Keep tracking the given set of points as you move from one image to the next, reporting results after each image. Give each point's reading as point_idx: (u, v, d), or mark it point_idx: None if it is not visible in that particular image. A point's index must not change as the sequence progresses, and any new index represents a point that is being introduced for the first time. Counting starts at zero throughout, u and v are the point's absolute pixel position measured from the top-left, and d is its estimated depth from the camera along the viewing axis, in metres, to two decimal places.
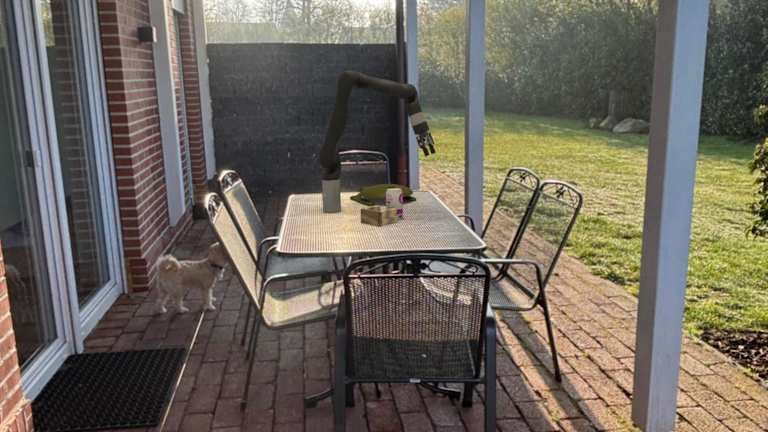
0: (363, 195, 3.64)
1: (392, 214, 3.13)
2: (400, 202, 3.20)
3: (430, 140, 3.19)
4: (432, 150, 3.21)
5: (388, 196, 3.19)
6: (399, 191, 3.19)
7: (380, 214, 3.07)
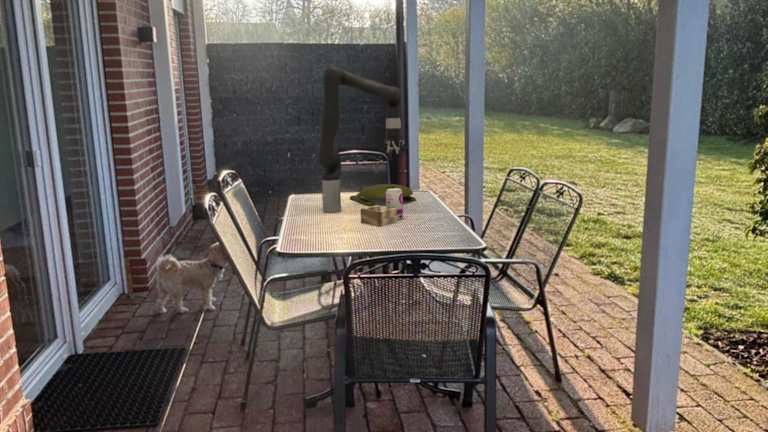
0: (363, 195, 3.64)
1: (392, 214, 3.13)
2: (400, 202, 3.20)
3: None
4: (390, 156, 3.34)
5: (388, 196, 3.19)
6: (399, 191, 3.19)
7: (380, 214, 3.07)
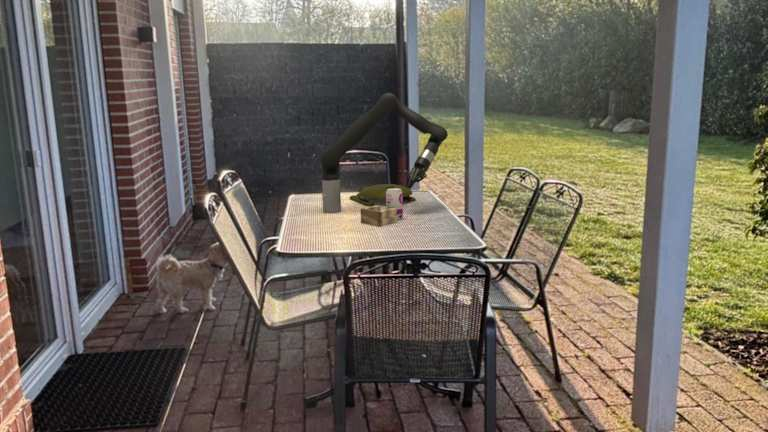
0: (362, 195, 3.64)
1: (392, 214, 3.13)
2: (400, 202, 3.20)
3: None
4: None
5: (388, 196, 3.19)
6: (399, 191, 3.19)
7: (380, 214, 3.07)
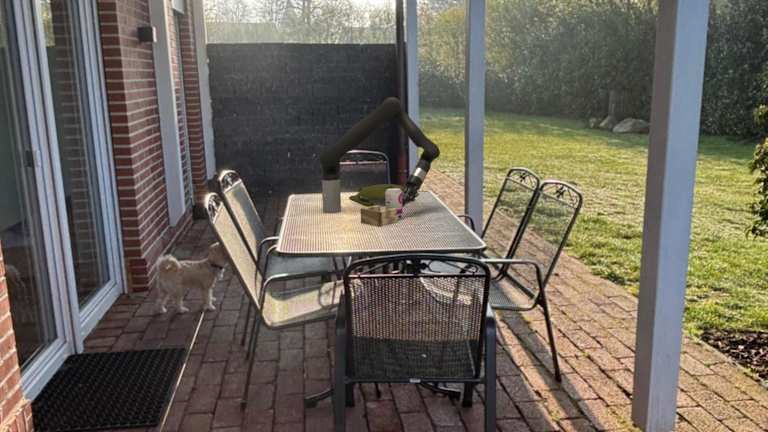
0: (361, 195, 3.64)
1: (392, 214, 3.13)
2: (400, 202, 3.19)
3: None
4: (402, 203, 3.27)
5: (388, 196, 3.19)
6: (399, 191, 3.19)
7: (380, 214, 3.07)
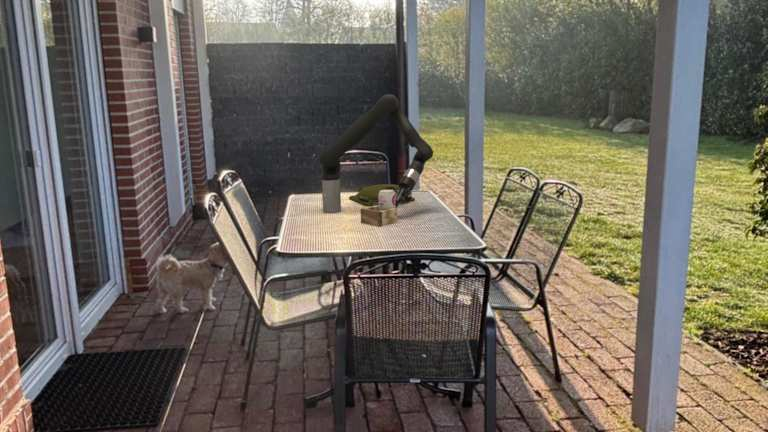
0: (361, 195, 3.64)
1: (392, 214, 3.13)
2: (393, 204, 3.16)
3: None
4: None
5: (381, 198, 3.15)
6: (392, 192, 3.15)
7: (380, 214, 3.07)
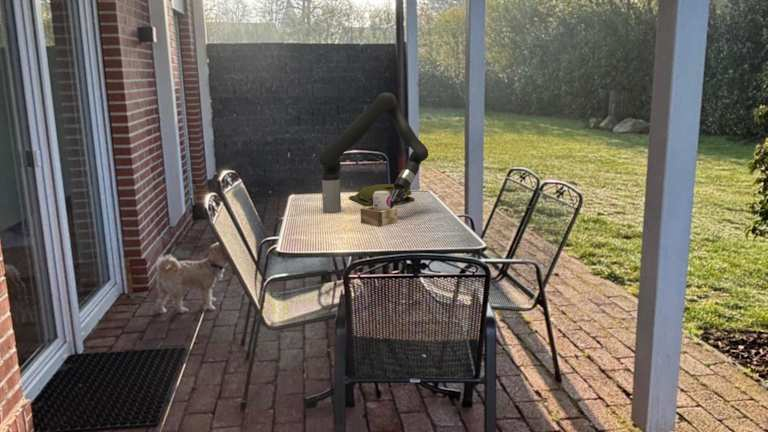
0: (361, 195, 3.64)
1: (392, 214, 3.13)
2: (388, 205, 3.13)
3: None
4: (390, 205, 3.20)
5: (375, 199, 3.12)
6: (387, 194, 3.12)
7: (380, 214, 3.07)
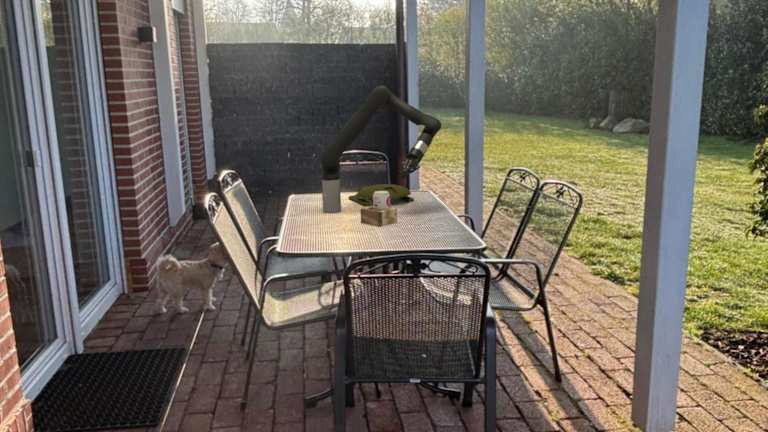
0: (360, 195, 3.64)
1: (392, 214, 3.13)
2: (388, 205, 3.13)
3: None
4: None
5: (375, 199, 3.12)
6: (387, 194, 3.12)
7: (380, 214, 3.07)
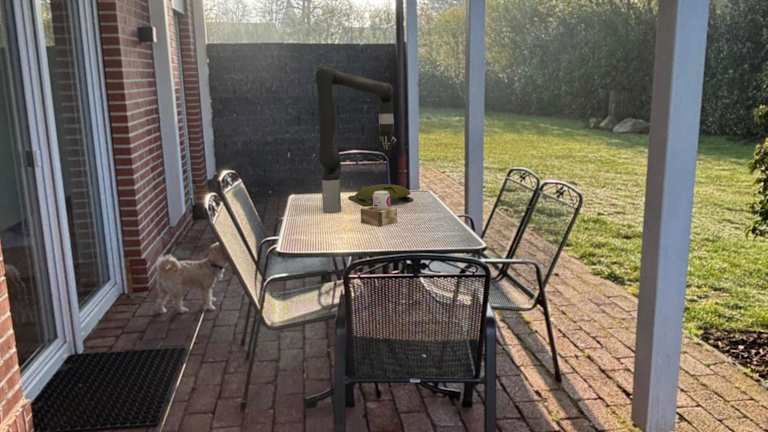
0: (359, 195, 3.64)
1: (392, 214, 3.13)
2: (388, 205, 3.13)
3: None
4: None
5: (375, 199, 3.12)
6: (387, 194, 3.12)
7: (380, 214, 3.07)
